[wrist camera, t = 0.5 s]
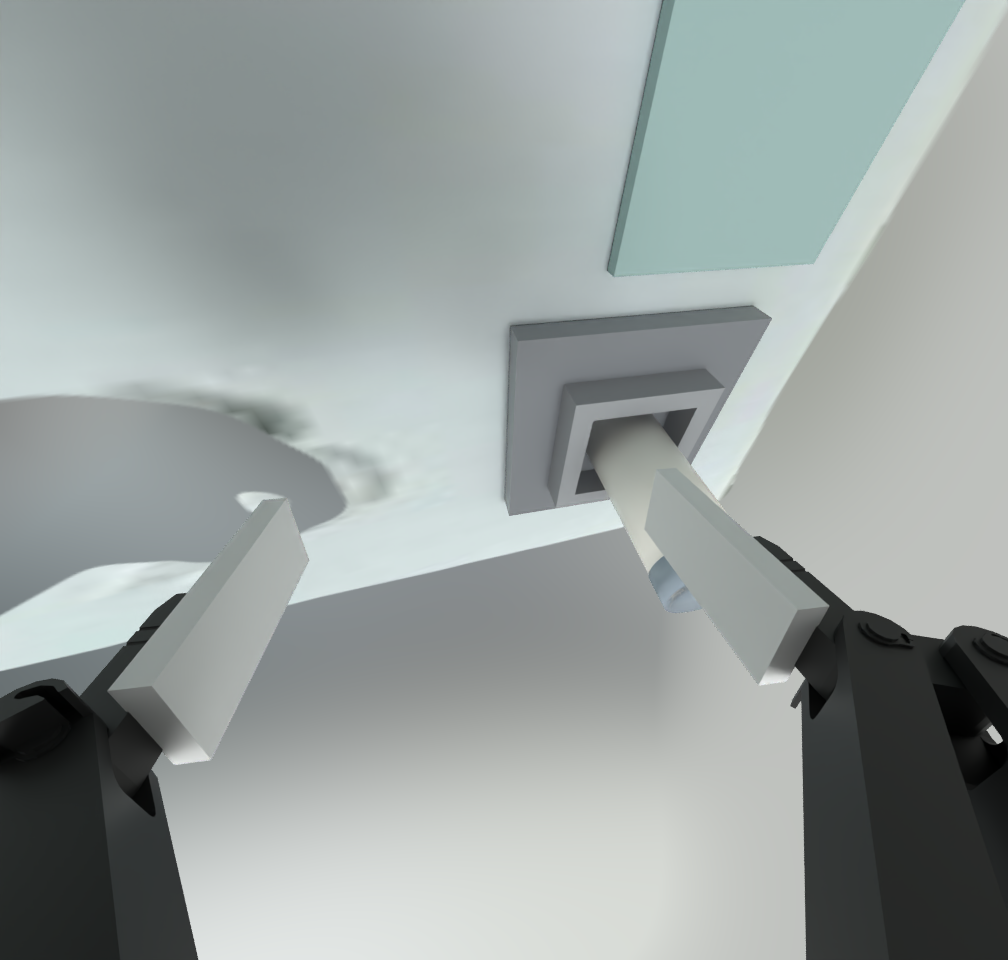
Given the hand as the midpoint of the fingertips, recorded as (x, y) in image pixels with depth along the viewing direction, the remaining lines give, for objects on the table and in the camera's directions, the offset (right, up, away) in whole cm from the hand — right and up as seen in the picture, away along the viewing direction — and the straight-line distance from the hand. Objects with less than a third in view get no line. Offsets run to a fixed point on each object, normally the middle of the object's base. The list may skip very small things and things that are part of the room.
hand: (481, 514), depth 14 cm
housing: (+10, +6, +19) cm, 22 cm away
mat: (+14, +20, +5) cm, 25 cm away
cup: (+10, +5, +17) cm, 21 cm away
